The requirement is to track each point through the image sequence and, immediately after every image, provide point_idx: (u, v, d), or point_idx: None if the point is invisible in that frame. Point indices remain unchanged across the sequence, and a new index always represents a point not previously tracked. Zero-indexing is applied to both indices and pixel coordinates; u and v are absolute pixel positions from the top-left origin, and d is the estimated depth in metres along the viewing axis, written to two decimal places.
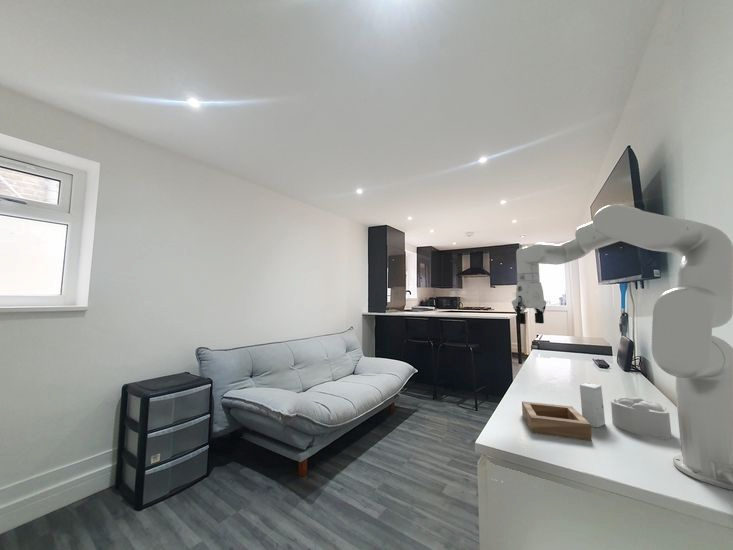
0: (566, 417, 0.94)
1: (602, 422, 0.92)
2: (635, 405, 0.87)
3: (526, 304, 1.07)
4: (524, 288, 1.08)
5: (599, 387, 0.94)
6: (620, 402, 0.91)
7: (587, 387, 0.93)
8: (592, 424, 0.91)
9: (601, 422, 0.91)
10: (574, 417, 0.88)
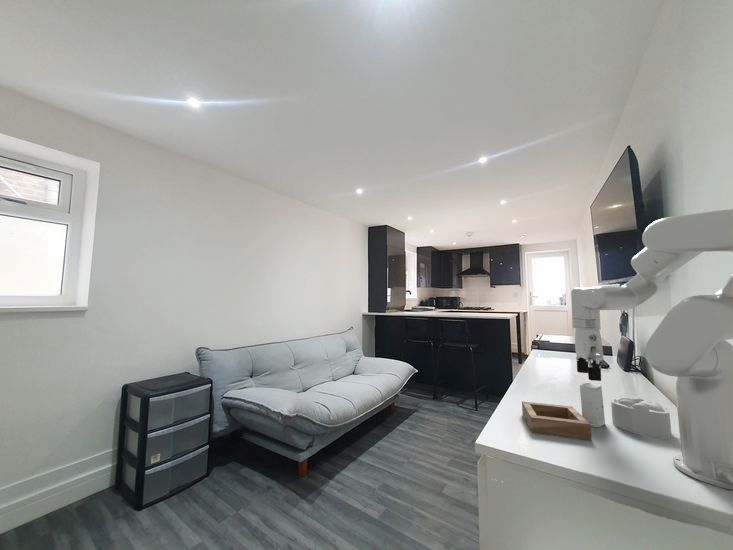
0: (566, 417, 0.94)
1: (602, 422, 0.92)
2: (635, 405, 0.87)
3: (602, 357, 0.91)
4: (599, 338, 0.91)
5: (599, 387, 0.93)
6: (620, 402, 0.91)
7: (587, 387, 0.93)
8: (592, 424, 0.91)
9: (601, 422, 0.91)
10: (574, 417, 0.88)
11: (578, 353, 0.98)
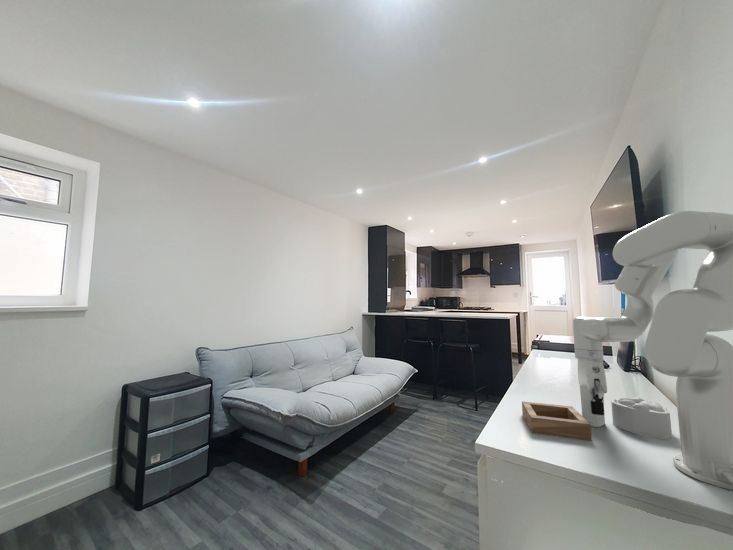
0: (566, 417, 0.94)
1: (602, 422, 0.92)
2: (636, 405, 0.87)
3: (606, 389, 0.89)
4: (602, 369, 0.90)
5: None
6: (620, 402, 0.91)
7: None
8: (592, 424, 0.91)
9: (601, 422, 0.91)
10: (574, 417, 0.88)
11: (581, 384, 0.96)
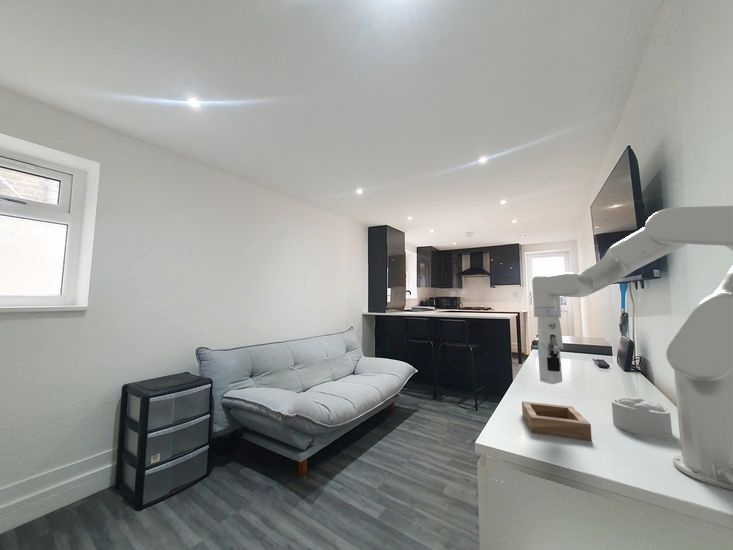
0: (566, 417, 0.94)
1: (559, 379, 0.91)
2: (636, 405, 0.87)
3: (562, 345, 0.88)
4: (558, 325, 0.89)
5: None
6: (621, 402, 0.91)
7: None
8: (548, 381, 0.90)
9: (557, 379, 0.90)
10: (574, 417, 0.88)
11: None
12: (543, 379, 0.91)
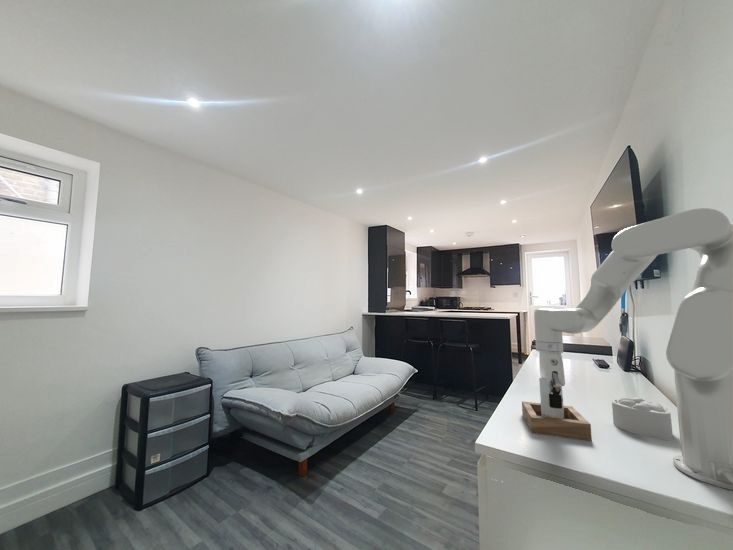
0: (566, 417, 0.94)
1: (561, 415, 0.90)
2: (636, 405, 0.87)
3: (564, 382, 0.87)
4: (560, 362, 0.88)
5: None
6: (621, 402, 0.91)
7: None
8: None
9: (559, 415, 0.89)
10: (574, 417, 0.88)
11: None
12: (545, 415, 0.90)
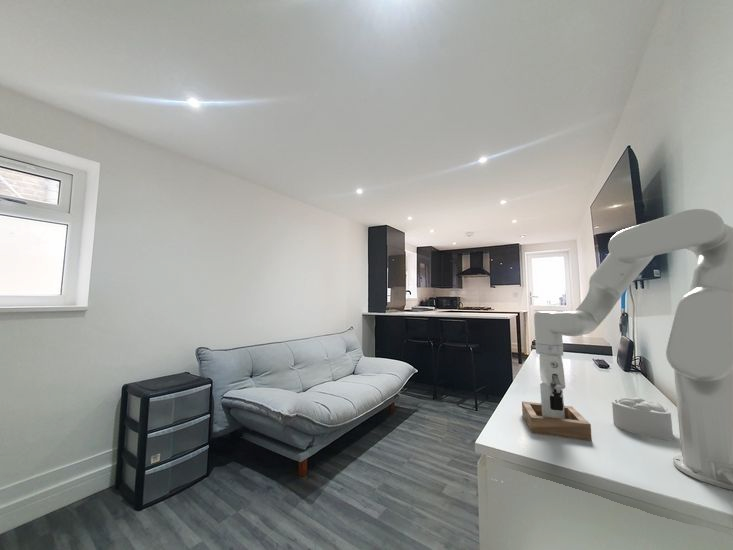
0: (566, 417, 0.94)
1: None
2: (637, 405, 0.87)
3: (564, 385, 0.87)
4: (561, 364, 0.88)
5: None
6: (621, 402, 0.91)
7: None
8: None
9: None
10: (574, 417, 0.88)
11: (542, 379, 0.94)
12: None
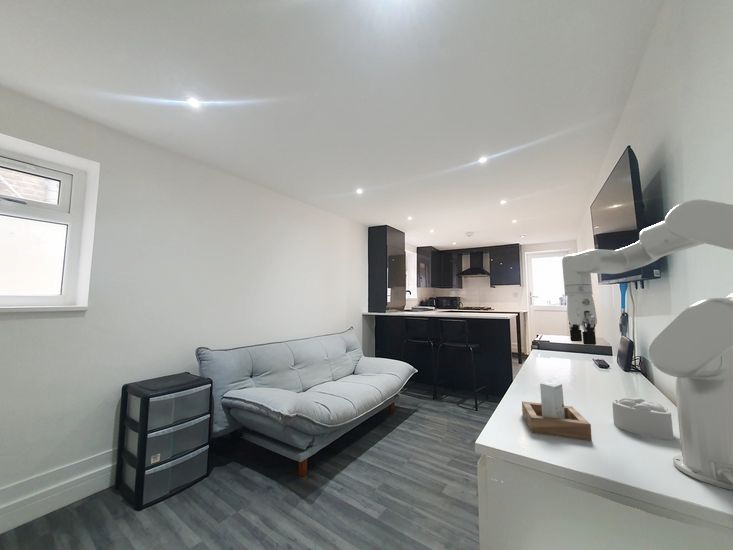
0: (566, 417, 0.94)
1: None
2: (637, 406, 0.87)
3: (596, 321, 0.90)
4: (592, 302, 0.91)
5: (559, 386, 0.91)
6: (622, 403, 0.91)
7: (547, 386, 0.91)
8: None
9: None
10: (574, 417, 0.88)
11: (571, 321, 0.97)
12: None
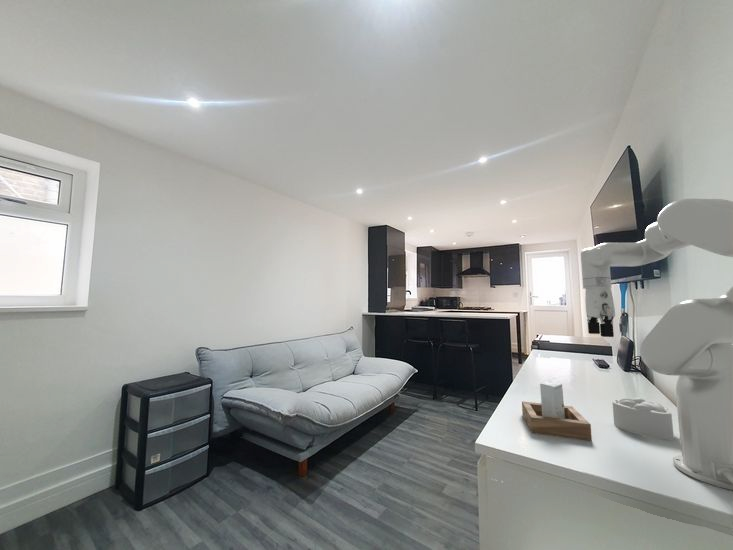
0: (566, 417, 0.94)
1: None
2: (637, 406, 0.87)
3: (614, 313, 0.91)
4: (610, 294, 0.92)
5: (559, 386, 0.91)
6: (622, 403, 0.91)
7: (547, 386, 0.91)
8: None
9: None
10: (574, 417, 0.88)
11: (589, 313, 0.98)
12: None
